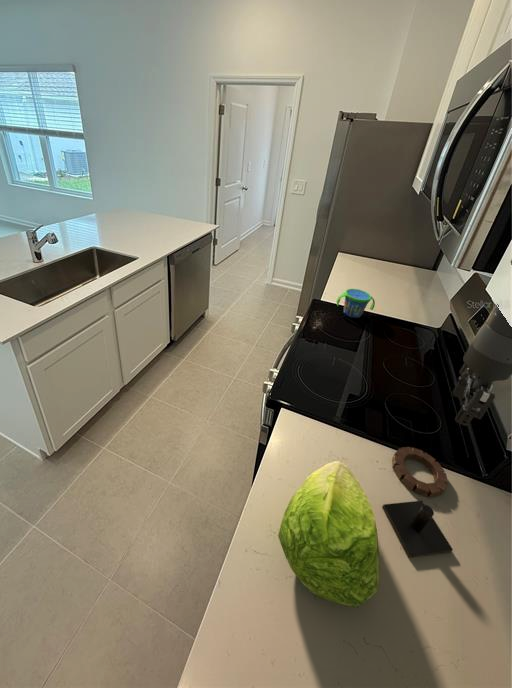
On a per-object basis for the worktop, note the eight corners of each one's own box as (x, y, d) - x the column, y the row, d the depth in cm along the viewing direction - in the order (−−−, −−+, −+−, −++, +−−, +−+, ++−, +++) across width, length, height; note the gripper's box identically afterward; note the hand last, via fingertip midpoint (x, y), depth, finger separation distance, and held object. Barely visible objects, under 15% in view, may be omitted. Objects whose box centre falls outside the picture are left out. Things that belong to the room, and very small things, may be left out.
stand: (419, 503, 67) (432, 484, 64) (450, 552, 60) (467, 534, 56) (381, 507, 66) (392, 488, 62) (408, 557, 58) (422, 539, 55)
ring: (422, 450, 79) (425, 445, 78) (455, 494, 69) (459, 489, 68) (383, 453, 77) (385, 448, 76) (410, 499, 68) (414, 494, 67)
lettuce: (378, 505, 67) (388, 454, 62) (374, 644, 47) (388, 584, 42) (300, 477, 74) (303, 429, 70) (268, 586, 54) (269, 529, 49)
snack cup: (368, 310, 140) (374, 291, 135) (372, 323, 131) (380, 302, 126) (332, 305, 142) (338, 286, 137) (335, 317, 133) (340, 297, 128)
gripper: (532, 379, 51) (484, 442, 59) (513, 337, 61) (476, 395, 70) (477, 362, 54) (439, 424, 62) (469, 325, 65) (438, 382, 73)
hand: (458, 408), depth 66 cm, fingers open, 8 cm apart
